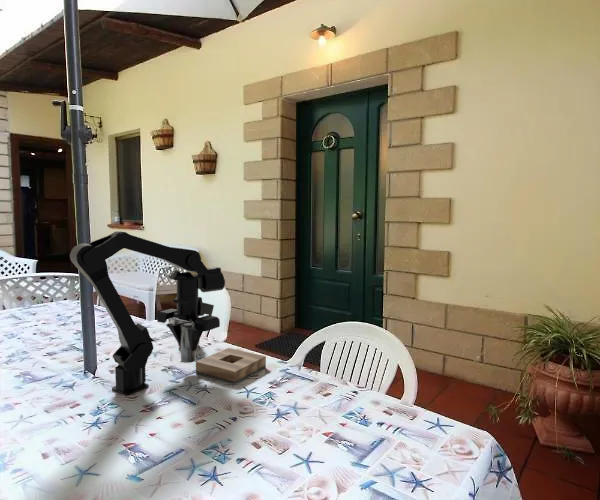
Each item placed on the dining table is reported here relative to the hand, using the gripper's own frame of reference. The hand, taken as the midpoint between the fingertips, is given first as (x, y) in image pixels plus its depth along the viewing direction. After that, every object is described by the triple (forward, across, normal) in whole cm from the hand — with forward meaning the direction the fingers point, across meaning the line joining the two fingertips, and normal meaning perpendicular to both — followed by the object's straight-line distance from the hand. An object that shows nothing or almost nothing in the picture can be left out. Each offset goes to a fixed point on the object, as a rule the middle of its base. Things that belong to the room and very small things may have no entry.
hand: (188, 349), depth 115 cm
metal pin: (+3, 0, 0) cm, 3 cm away
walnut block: (+7, -9, -8) cm, 14 cm away
